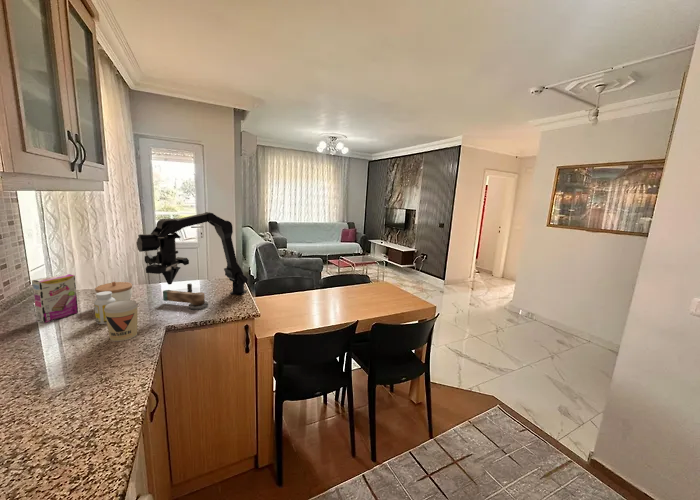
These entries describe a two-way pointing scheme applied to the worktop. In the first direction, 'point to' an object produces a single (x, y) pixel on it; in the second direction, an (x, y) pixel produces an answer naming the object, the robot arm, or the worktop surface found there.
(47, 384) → the worktop surface
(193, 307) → the dark grey pieces
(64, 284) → the candy bar box
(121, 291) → the lidded bowl
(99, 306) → the pill bottle
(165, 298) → the capstan lever
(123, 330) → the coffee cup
